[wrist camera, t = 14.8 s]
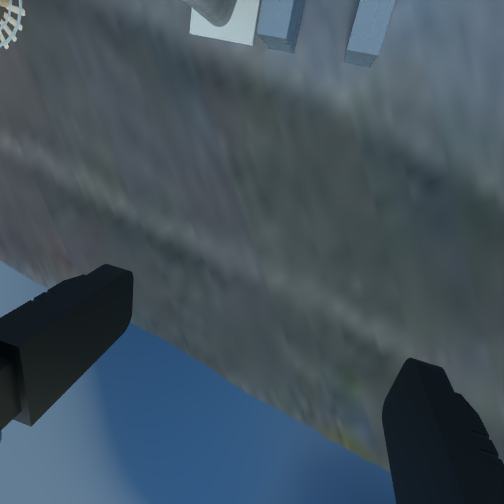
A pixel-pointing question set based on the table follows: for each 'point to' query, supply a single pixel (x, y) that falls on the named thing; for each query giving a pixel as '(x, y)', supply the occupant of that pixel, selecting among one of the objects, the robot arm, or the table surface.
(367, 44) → the vise
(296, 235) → the table surface
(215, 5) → the hip flask
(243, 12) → the mat
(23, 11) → the train set
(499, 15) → the table surface
